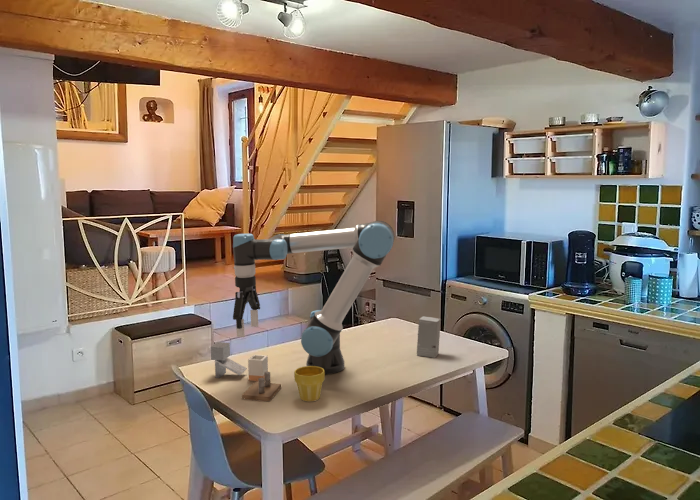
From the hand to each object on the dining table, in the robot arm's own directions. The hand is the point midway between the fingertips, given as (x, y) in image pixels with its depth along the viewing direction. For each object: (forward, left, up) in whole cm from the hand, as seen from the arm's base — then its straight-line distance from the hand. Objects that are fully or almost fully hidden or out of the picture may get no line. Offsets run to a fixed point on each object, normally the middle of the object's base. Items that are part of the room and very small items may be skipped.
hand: (248, 331), depth 209 cm
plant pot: (-28, +15, -18) cm, 36 cm away
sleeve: (-4, +1, -18) cm, 18 cm away
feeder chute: (+7, +1, -18) cm, 19 cm away
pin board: (-10, +14, -18) cm, 25 cm away
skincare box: (-65, -39, -18) cm, 78 cm away
